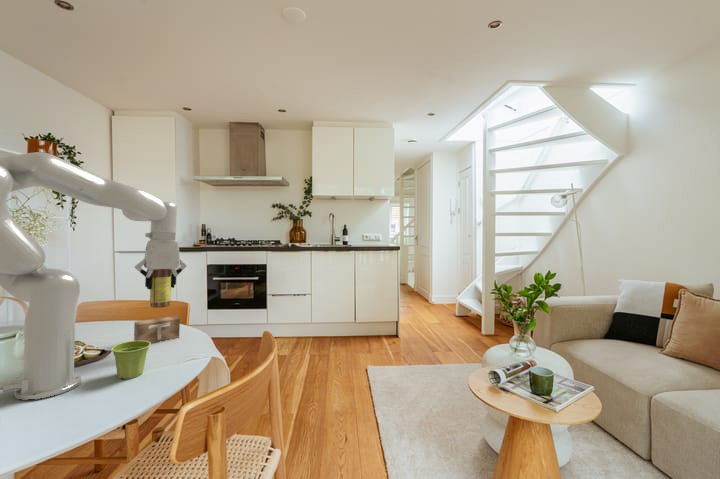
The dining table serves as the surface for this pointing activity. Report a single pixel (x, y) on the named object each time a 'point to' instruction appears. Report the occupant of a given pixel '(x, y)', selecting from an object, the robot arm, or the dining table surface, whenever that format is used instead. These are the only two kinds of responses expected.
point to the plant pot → (130, 358)
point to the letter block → (157, 329)
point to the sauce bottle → (160, 288)
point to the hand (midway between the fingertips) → (160, 287)
